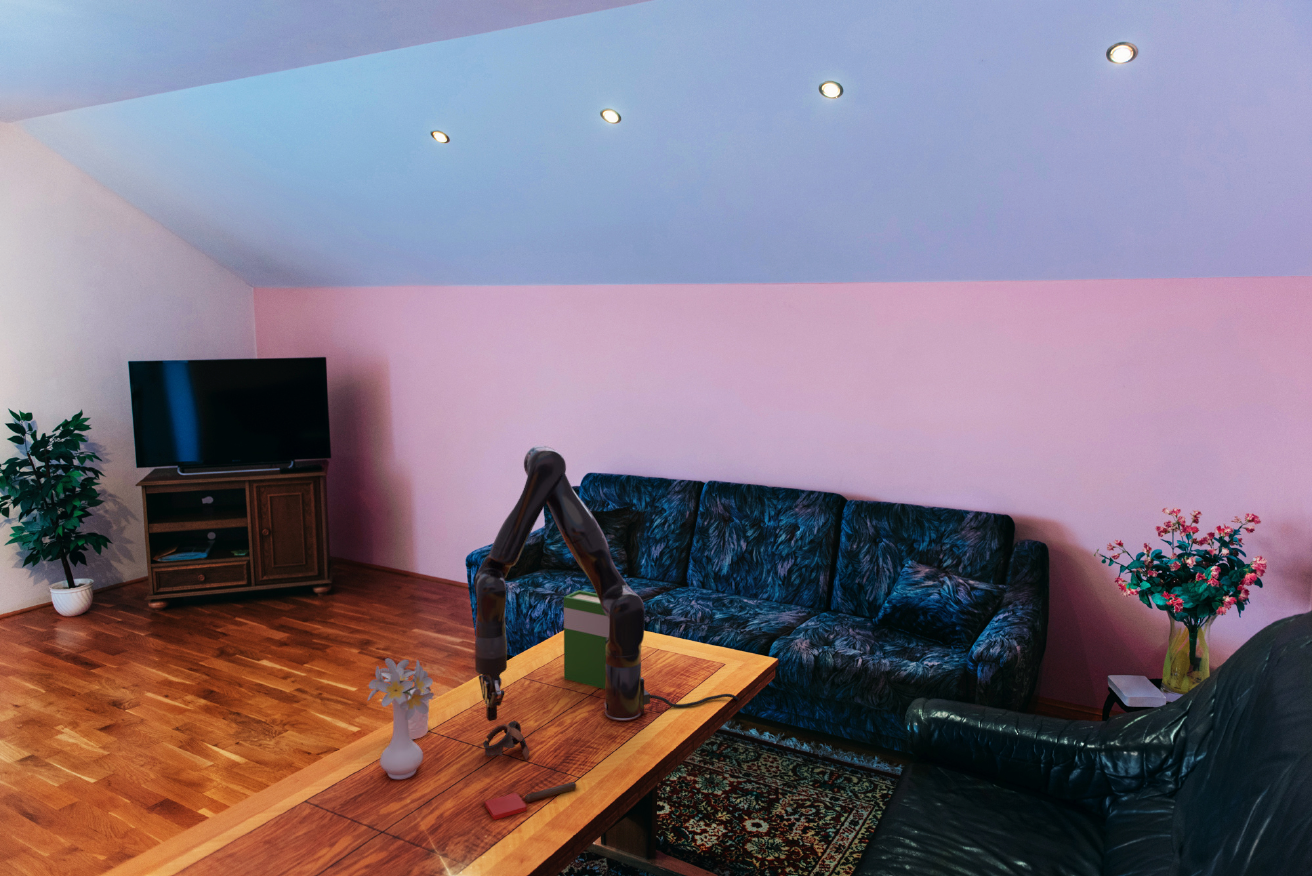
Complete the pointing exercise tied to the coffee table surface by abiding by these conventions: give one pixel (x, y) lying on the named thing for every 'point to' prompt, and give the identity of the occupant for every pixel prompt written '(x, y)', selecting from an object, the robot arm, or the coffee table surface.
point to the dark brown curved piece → (506, 740)
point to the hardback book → (585, 639)
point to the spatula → (515, 804)
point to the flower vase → (402, 714)
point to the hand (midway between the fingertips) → (491, 719)
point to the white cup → (418, 722)
